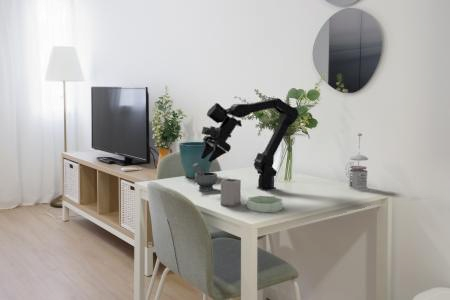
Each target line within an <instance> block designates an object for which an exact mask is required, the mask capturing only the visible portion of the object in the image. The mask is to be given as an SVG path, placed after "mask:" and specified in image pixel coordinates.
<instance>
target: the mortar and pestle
mask: <svg viewBox="0 0 450 300" xmlns="http://www.w3.org/2000/svg"><path fill="white" fill-rule="evenodd" d="M193 168H194V169H195V171H196V174H195V178H194V179H195V182H196V184H197V185H198V186H199V187H198V189H199V191H203V192H204V191H207V192H208V191H212V190H214V188H213V186H214V185H215V184H216V182H217V178H218V174H217V173H216V172H212V171H209V172H202V170H201V169H200V167H199V164H198V163H196V164H194V165H193Z"/></svg>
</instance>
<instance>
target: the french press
mask: <svg viewBox="0 0 450 300" xmlns="http://www.w3.org/2000/svg"><path fill="white" fill-rule="evenodd" d="M362 136H363V134H362V133H360V132H359V133H357V137H359V138H358V141H359V142H358V148H361V146H360V144H361V143H360V141H361V137H362ZM349 160H352V162H351V161H349V162H348V163H347V164H346V167H345V169H347V173H345V175H346V177H347V178H348V186H347V187H345V188H346V190H347V189H348V190H352V191H357V192H359V191H360V192H361V191H363V192H364V191H365V192H366V191H369V188H368V183H367V182H368V180H367V179H368V170H366V169H367V167H366V166H364V165H363V166H362V165H359V164H360V161H368V160H369V158H368V157H367V156H365V155H363V154H360V153H358V154H354V155H352V156H349ZM353 161H357V162H358V164H357V165H354V162H353ZM348 165H349V166H348ZM347 166H348V168H347Z"/></svg>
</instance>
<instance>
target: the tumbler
mask: <svg viewBox="0 0 450 300" xmlns="http://www.w3.org/2000/svg"><path fill="white" fill-rule="evenodd" d="M241 181H242V180H241V179H238V178H237V179H236V178H225V179H223V180H221V181H220V206H223V207H231V208H236V207H237V206H240V205H241V197H242V196H241V190H242V188H241Z"/></svg>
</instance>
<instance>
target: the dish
mask: <svg viewBox="0 0 450 300" xmlns="http://www.w3.org/2000/svg"><path fill="white" fill-rule="evenodd" d="M283 203H284V199H283V198H280V197H276V196H272V195H256V196H251V197H250V196H249V197H248V199H247V200H246V208H247V209H248V210H249V211H251V212H252V211H253V212H257V213H275V212H280V211H281V210H283V205H284V204H283Z"/></svg>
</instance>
